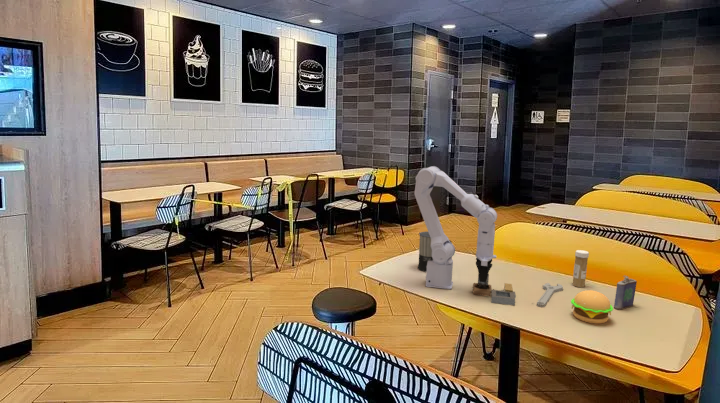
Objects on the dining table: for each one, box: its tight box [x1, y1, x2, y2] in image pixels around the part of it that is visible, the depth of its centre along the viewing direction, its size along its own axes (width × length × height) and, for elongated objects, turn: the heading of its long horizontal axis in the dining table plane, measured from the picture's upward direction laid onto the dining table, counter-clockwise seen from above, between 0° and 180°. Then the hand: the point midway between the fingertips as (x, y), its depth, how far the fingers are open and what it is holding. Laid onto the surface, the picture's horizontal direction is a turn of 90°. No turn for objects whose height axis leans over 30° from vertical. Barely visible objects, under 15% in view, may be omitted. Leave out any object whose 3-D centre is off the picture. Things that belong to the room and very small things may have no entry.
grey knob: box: [477, 273, 490, 289], centre depth 172 cm, size 4×4×7 cm
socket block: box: [490, 289, 517, 306], centre depth 167 cm, size 8×11×2 cm
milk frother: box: [417, 231, 453, 272], centre depth 200 cm, size 14×16×15 cm
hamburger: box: [570, 289, 614, 324], centre depth 152 cm, size 12×12×9 cm
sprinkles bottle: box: [571, 249, 590, 288], centre depth 182 cm, size 5×5×13 cm
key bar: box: [503, 282, 514, 292], centre depth 172 cm, size 2×7×2 cm, turn 166°
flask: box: [613, 275, 638, 310], centre depth 162 cm, size 9×3×11 cm, turn 121°
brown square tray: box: [472, 282, 492, 297], centre depth 172 cm, size 6×6×2 cm
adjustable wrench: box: [536, 282, 564, 308], centre depth 171 cm, size 25×6×2 cm, turn 143°
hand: (482, 279), depth 172 cm, fingers closed on grey knob, 3 cm apart
